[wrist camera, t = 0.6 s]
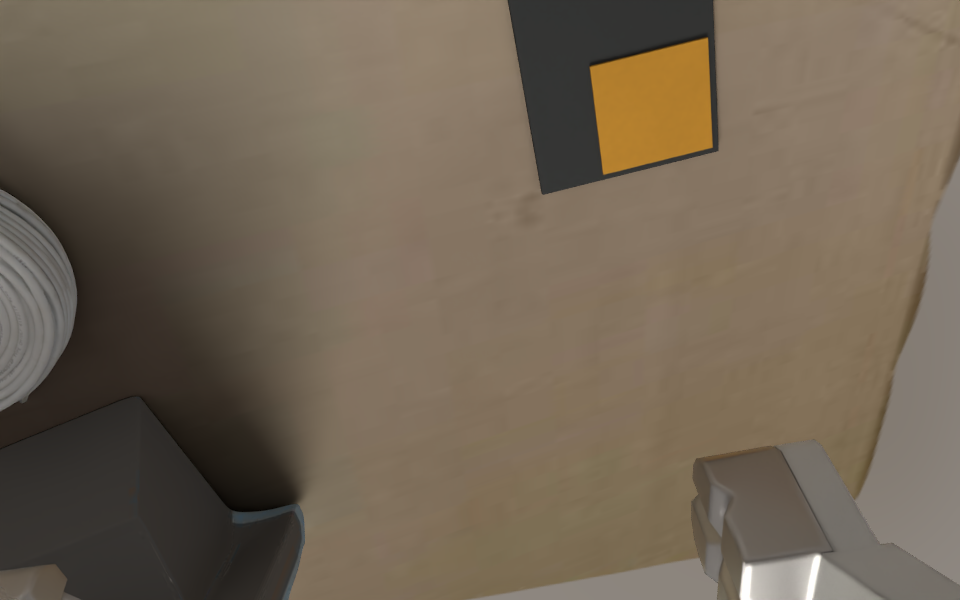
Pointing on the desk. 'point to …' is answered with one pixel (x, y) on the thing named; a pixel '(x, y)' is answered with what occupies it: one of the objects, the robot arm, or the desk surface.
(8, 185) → the desk surface
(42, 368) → the cable
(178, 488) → the touchscreen device
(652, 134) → the desk mat
